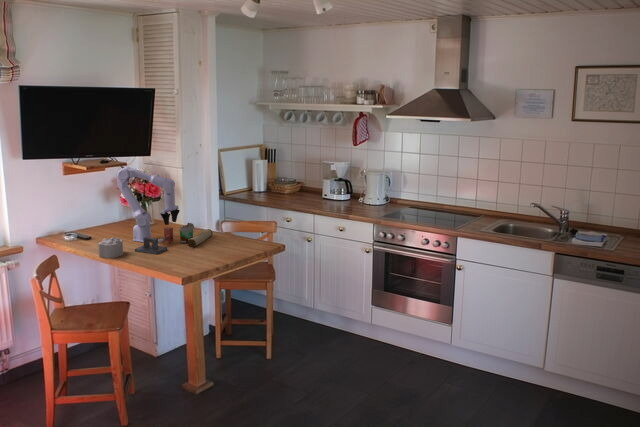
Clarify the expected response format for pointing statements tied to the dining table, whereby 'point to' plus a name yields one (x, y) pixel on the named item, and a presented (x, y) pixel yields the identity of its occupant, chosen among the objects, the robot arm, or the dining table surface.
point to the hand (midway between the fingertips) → (170, 223)
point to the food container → (186, 233)
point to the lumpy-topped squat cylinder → (110, 248)
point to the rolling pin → (199, 238)
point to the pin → (167, 235)
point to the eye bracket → (150, 246)
